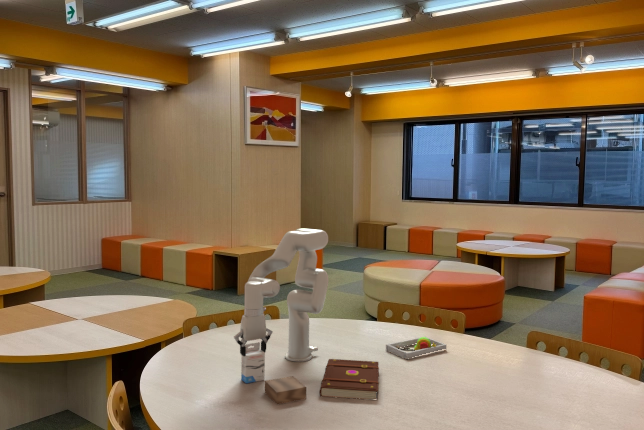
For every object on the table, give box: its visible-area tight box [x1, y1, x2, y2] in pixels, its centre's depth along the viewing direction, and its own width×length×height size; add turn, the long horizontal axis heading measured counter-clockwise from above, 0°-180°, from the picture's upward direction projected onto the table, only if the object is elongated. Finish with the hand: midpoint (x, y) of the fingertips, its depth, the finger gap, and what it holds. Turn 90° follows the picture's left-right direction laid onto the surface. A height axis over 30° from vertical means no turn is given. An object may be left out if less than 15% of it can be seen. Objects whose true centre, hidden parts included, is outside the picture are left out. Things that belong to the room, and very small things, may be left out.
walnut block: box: [264, 375, 307, 405], centre depth 203 cm, size 12×12×5 cm
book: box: [319, 358, 380, 400], centre depth 217 cm, size 23×32×5 cm
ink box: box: [240, 342, 266, 384], centre depth 217 cm, size 8×5×15 cm, turn 123°
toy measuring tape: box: [396, 336, 436, 351], centre depth 259 cm, size 6×19×7 cm, turn 78°
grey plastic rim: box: [385, 336, 447, 360], centre depth 259 cm, size 26×15×3 cm, turn 123°
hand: (253, 353), depth 217 cm, fingers closed on ink box, 8 cm apart
